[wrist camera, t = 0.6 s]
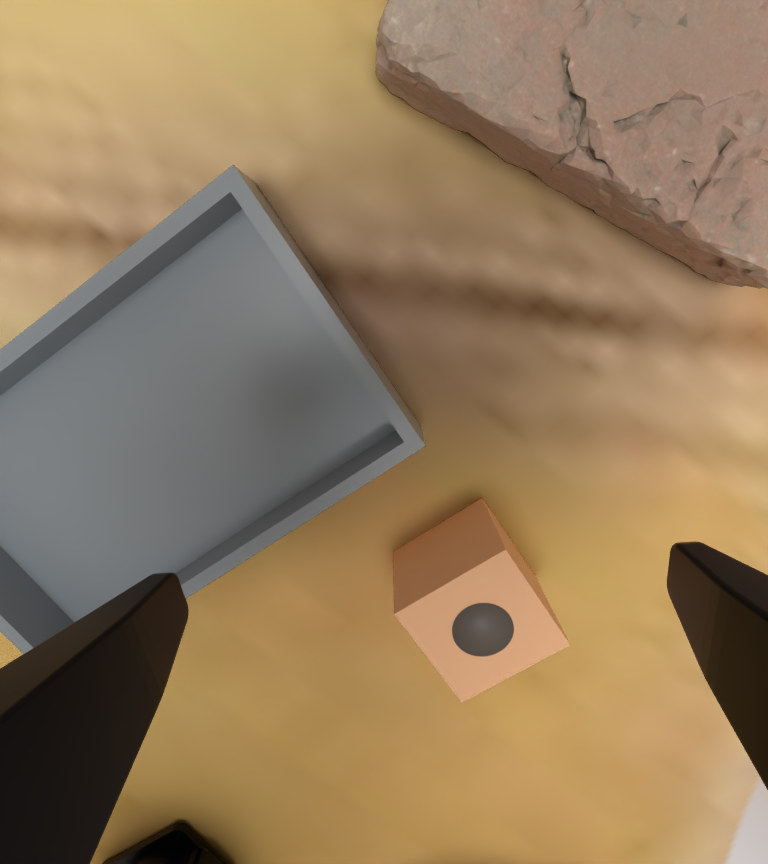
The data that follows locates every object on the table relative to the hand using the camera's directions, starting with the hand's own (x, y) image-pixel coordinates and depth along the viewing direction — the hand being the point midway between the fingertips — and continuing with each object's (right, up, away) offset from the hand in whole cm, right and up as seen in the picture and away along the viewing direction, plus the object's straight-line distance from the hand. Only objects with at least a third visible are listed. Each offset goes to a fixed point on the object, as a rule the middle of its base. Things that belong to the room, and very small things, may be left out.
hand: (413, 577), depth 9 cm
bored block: (+3, -4, +15) cm, 16 cm away
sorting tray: (-11, +2, +14) cm, 17 cm away
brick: (+8, +16, +10) cm, 20 cm away
